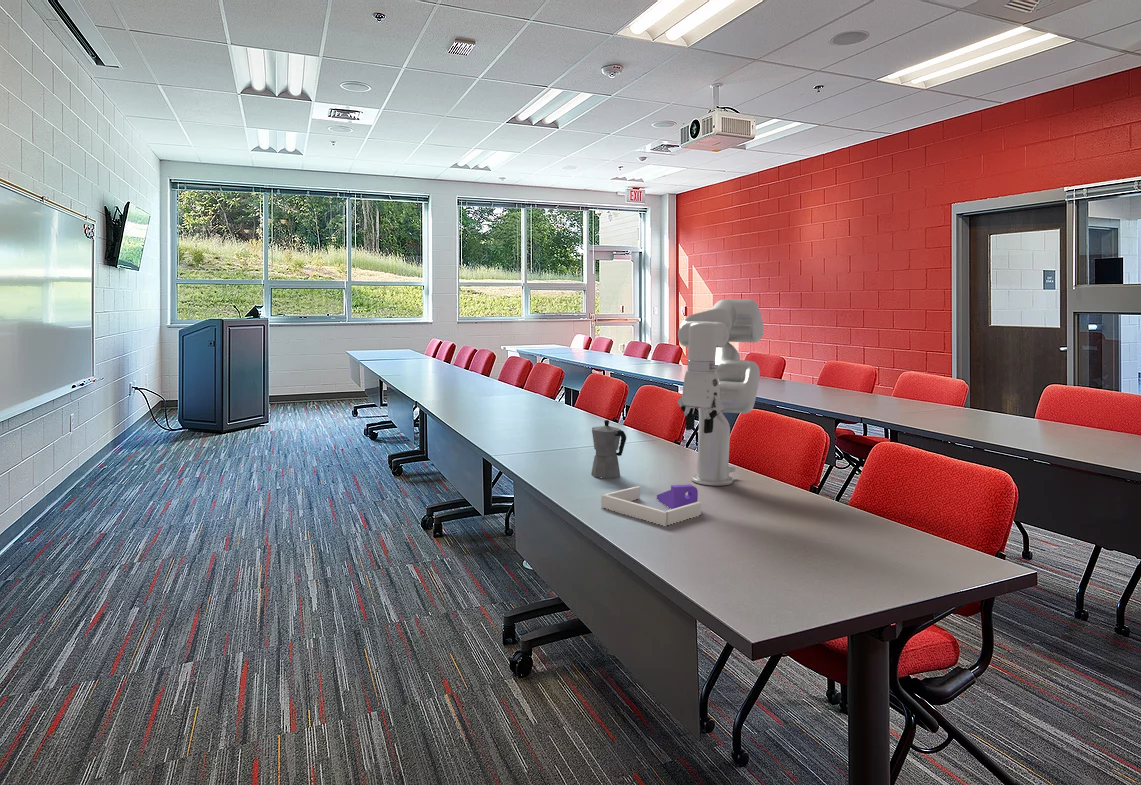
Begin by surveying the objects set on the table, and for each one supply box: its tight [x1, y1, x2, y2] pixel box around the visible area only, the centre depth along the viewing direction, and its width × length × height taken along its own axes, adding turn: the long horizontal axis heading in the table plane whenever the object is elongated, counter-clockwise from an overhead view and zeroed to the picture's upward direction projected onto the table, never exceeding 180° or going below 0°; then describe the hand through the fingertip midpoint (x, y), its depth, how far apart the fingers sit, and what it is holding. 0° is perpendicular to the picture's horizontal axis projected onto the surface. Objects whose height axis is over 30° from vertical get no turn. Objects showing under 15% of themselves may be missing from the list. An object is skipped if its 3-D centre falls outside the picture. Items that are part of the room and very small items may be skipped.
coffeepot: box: [591, 419, 627, 479], centre depth 224 cm, size 15×9×18 cm, turn 39°
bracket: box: [656, 483, 699, 510], centre depth 193 cm, size 12×7×7 cm, turn 15°
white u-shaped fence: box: [600, 485, 702, 527], centre depth 186 cm, size 14×22×4 cm, turn 43°
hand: (699, 430), depth 197 cm, fingers open, 5 cm apart
